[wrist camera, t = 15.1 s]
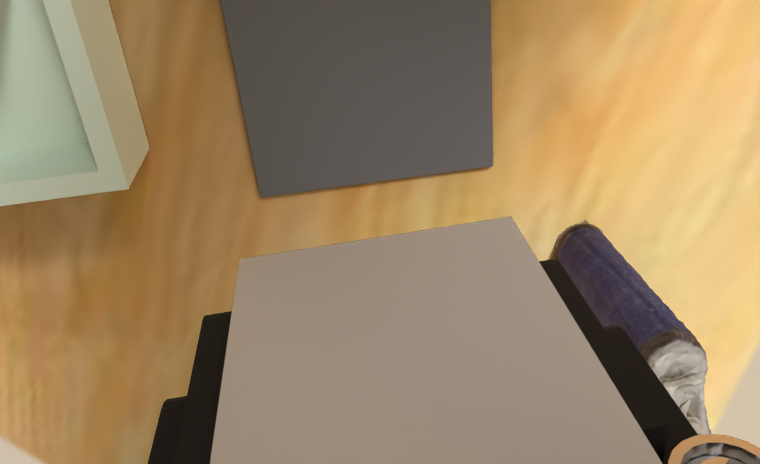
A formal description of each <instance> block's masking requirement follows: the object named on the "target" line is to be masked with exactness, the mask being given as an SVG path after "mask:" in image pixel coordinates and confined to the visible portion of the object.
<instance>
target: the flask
mask: <svg viewBox="0 0 760 464" xmlns="http://www.w3.org/2000/svg"><path fill="white" fill-rule="evenodd" d="M555 250H556V251H555V255H554V259H557V260H558V261H559V262H560V263H561V265H562V266H563V268H564V269H565V271H566V272H567V274H568V275H569V277H570V278H571V280H572V281H573V283H574V284H575V286H576V287H577V289H578V290H579V292H580V293H581V295H582V296H583V298H584V299H585V301H586V302H587V304H588V305H589V307H590V308H591V310H592V311H593V313H594V314H595V316H596V317H597V319H598V320H599V322H600V323H601V325H602V326H603V327H607V326H613V325H617V326H620V327H621V328H622V329H623V330H624V331H625V332H626V333H627V335H628V336H629V337H630V339H631V340H632V342H633V343H634V345H635V346H636V347H637V349H638V350H639V352H640V353H641V354H642V356H643V357H644V359H645V360H646V362H647V363H648V364H649V366H650V367H651V369H652V370H653V371H654V373H655V374H656V376H657V377H658V379H659V380H660V381H661V383H662V384H663V386H664V387H665V388H666V390H667V391H668V393H669V394H670V396H671V397H672V398H673V400H674V401H675V403H676V404H677V405H678V407H679V408H680V410H681V411H682V413H683V414H684V415H685V417H686V418H687V420H688V421H689V422H690V424H691V425H692V427H693V428H694V430H695V431H696V432H697V434H698V435H705V434H711V431H710V429H709V425H708V420H707V416H706V415H707V412H706V409H705V405H704V384H705V375H706V372H707V370H708V368H707V359H706V353H705V351H704V349H703V348H702V346H701V345H700V343H699V342H698V341H697V339H696V338H695V336H694V335H693V334H692V333H691V332H690V331H689V330H688V329H687V328H686V327H685V325H684V324H683V322H681V321H679V320H678V319H677V318H676V316H675V315H674V313H673V312H672V311H671V310H670V309H669V307H668V306H667V305H665V304H664V303H663V302H662V300H661V299H660V297H659V296H657V295H656V294H655V293H654V291H653V290H652V289H650V288H649V286H648V285H647V284H646V282H645V281H644V280H643V279H642V277H641V276H640V275H639V274H638V273H637V272H636V271H635V269H634V268H633V267H632V266H631V265H630V264H629V263H627V262H626V260H625V259H624V257H623V256H622V255H621V254H620V253H619V252H618V251H617V250H616V249H615V248H614V247H613V245H612V244H611V242H610V241H609V240H608V239H607V238H606V237H605V236H604V235H603V232H602V230H600V229H599V228H597V227H596V226H594V225H591V224H588V222H587V221H586V220H585V221H584V222H583V223H581V224H577V225H576V224H575V225H574V226H571V227H568V228H567V229H566V230H565V231H564V232H563V233H561V234H560V235H559V236H558V240H557V243H556V245H555Z"/></svg>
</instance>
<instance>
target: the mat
mask: <svg viewBox="0 0 760 464" xmlns="http://www.w3.org/2000/svg"><path fill="white" fill-rule="evenodd" d="M221 5H222V10H223V15H224V20H225V25H226V30H227V35H228V40H229V44H230V49H231V54H232V59H233V64H234V69H235V74H236V79H237V84H238V89H239V94H240V99H241V103H242V108H243V113H244V118H245V123H246V128H247V133H248V138H249V143H250V148H251V153H252V157H253V162H254V167H255V172H256V177H257V182H258V187H259V192H260V197H268V196H276V195H283V194H291V193H298V192H305V191H313V190H320V189H328V188H335V187H342V186H350V185H357V184H365V183H372V182H379V181H387V180H394V179H402V178H409V177H417V176H424V175H431V174H439V173H446V172H454V171H461V170H468V169H476V168H483V167H491V166H493V130H492V72H491V14H490V0H221Z"/></svg>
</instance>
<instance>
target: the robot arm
mask: <svg viewBox="0 0 760 464" xmlns="http://www.w3.org/2000/svg"><path fill="white" fill-rule="evenodd" d="M539 263H540V264H541V266H542V267H543V269H544V271H545V272H546V274H547V276H548V277H549V279H550V281H551V282H552V284H553V285H554V287H555V289H556V290H557V292H558V294H559V295H560V297H561V299H562V300H563V302H564V303H565V305H566V307H567V308H568V310H569V312H570V313H571V315H572V316H573V318H574V320H575V321H576V323H577V325H578V326H579V328H580V330H581V331H582V333H583V334H584V336H585V338H586V339H587V341H588V343H589V344H590V346H591V348H592V349H593V351H594V352H595V354H596V356H597V357H598V359H599V361H600V362H601V364H602V366H603V367H604V369H605V370H606V372H607V374H608V375H609V377H610V379H611V380H612V382H613V384H614V385H615V387H616V388H617V390H618V392H619V393H620V395H621V397H622V398H623V400H624V401H625V403H626V405H627V406H628V408H629V410H630V411H631V413H632V415H633V416H634V418H635V419H636V421H637V423H638V424H639V426H640V428H641V429H642V431H643V433H644V434H645V436H646V437H647V439H648V441H649V442H650V444H651V446H652V447H653V449H654V451H655V452H656V454H657V455H658V457H659V459H660V460H661V462H662V464H760V448H758V447H756V446H755V445H753V444H751V443H749V442H747V441H744V440H741V439H738V438H734V437H731V436H726V435H717V434H705V435H698V434H697V432H696V431H695V430H694V428H693V427H692V425H691V424H690V422H689V421H688V420H687V418H686V417H685V415H684V414H683V413H682V411H681V410H680V408H679V407H678V405H677V404H676V403H675V401H674V400H673V398H672V397H671V396H670V394H669V393H668V391H667V390H666V388H665V387H664V386H663V384H662V383H661V381H660V380H659V379H658V377H657V376H656V374H655V373H654V371H653V370H652V369H651V367H650V366H649V364H648V363H647V362H646V360H645V359H644V357H643V356H642V354H641V353H640V352H639V350H638V349H637V347H636V346H635V345H634V343H633V342H632V340H631V339H630V337H629V336H628V335H627V333H626V332H625V331H624V330H623V329H622V328H621V327H620V326H617V325H613V326H607V327H603V326H602V325H601V323H600V322H599V320H598V319H597V317H596V316H595V314H594V313H593V311H592V310H591V308H590V307H589V305H588V304H587V302H586V301H585V299H584V298H583V296H582V295H581V293H580V292H579V290H578V289H577V287H576V286H575V284H574V283H573V281H572V280H571V278H570V277H569V275H568V274H567V272H566V271H565V269H564V268H563V266H562V265H561V263H560V262H559V261H558V260H557V259H552V260H546V261H540V262H539ZM231 314H232V311H230V312H224V313H218V314H212V315H206V316H204V318H203V321H202V326H201V331H200V336H199V341H198V345H197V350H196V355H195V360H194V365H193V370H192V375H191V380H190V384H189V389H188V394H187V396H184V397H178V398H172V399H167V400H166V401H165V402H164V404H163V406H162V409H161V413H160V417H159V421H158V425H157V429H156V433H155V437H154V441H153V445H152V449H151V453H150V457H149V461H148V464H210V459H211V452H212V445H213V438H214V431H215V424H216V418H217V411H218V404H219V397H220V390H221V383H222V376H223V369H224V362H225V355H226V348H227V342H228V335H229V328H230V321H231Z"/></svg>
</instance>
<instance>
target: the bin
mask: <svg viewBox="0 0 760 464" xmlns="http://www.w3.org/2000/svg"><path fill="white" fill-rule="evenodd" d="M149 149H150V146H149V143H148V139H147V136H146V132H145V129H144V125H143V121H142V118H141V114H140V111H139V107H138V104H137V100H136V97H135V93H134V89H133V86H132V82H131V79H130V75H129V72H128V68H127V65H126V61H125V57H124V54H123V50H122V47H121V43H120V40H119V36H118V33H117V29H116V25H115V22H114V18H113V15H112V11H111V8H110V4H109V1H108V0H0V206H6V205H13V204H21V203H28V202H36V201H44V200H51V199H59V198H66V197H74V196H81V195H89V194H96V193H104V192H111V191H119V190H126V189H129V187H130V185H131V183H132V181H133V179H134V177H135V176H136V174H137V172H138V170H139V168H140V166H141V164H142V162H143V160H144V158H145V156H146V154H147V153H148V151H149Z"/></svg>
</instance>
